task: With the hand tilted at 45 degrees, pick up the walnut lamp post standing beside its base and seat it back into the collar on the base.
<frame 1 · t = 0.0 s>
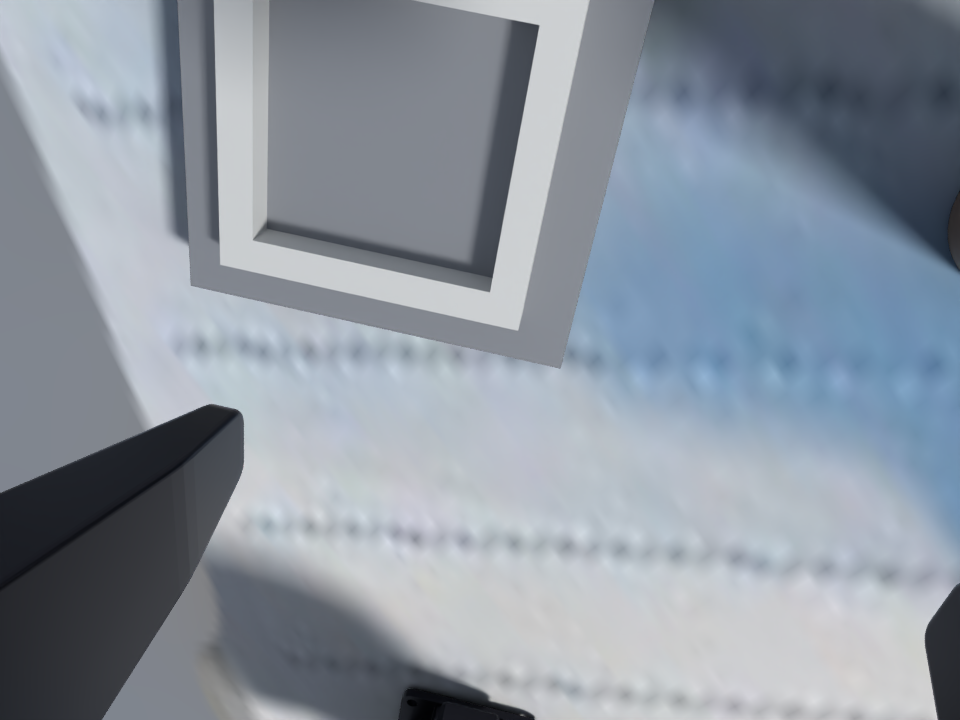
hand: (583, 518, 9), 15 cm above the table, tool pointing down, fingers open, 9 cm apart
base: (409, 119, 22), on the table
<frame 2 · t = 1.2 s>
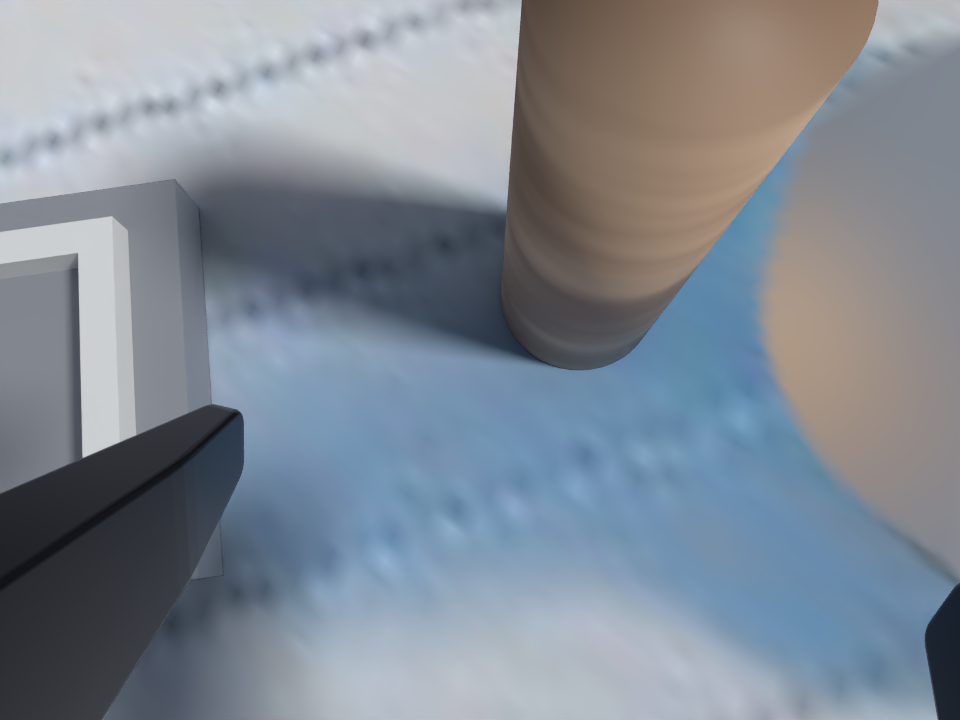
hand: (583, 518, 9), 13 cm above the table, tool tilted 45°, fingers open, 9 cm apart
base: (18, 408, 23), on the table
post: (577, 295, 24), on the table
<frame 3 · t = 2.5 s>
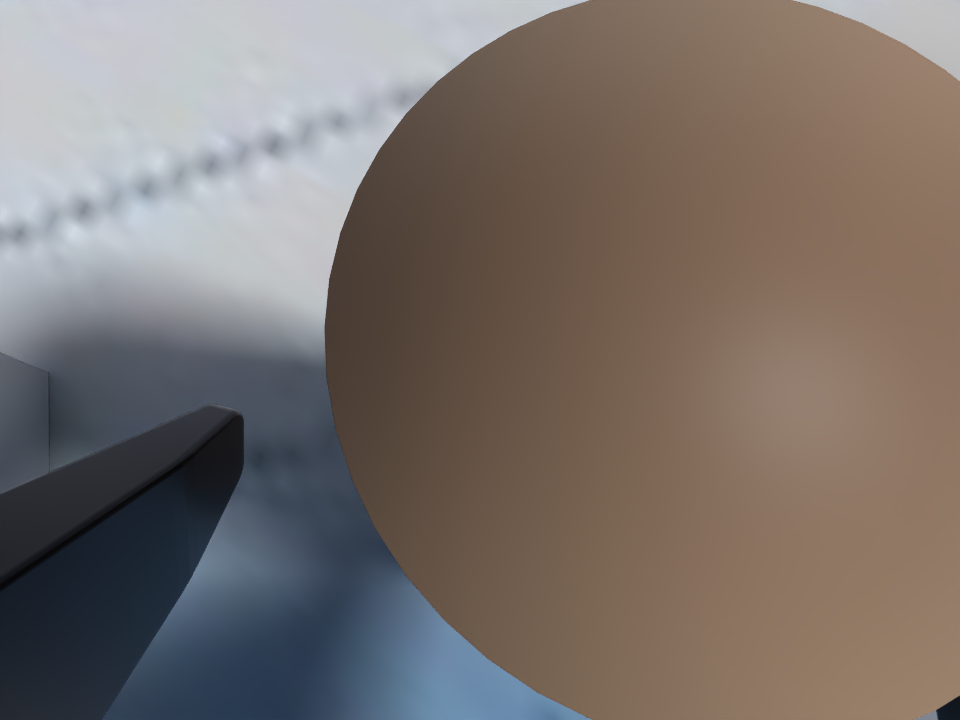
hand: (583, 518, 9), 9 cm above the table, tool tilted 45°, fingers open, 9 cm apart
post: (542, 494, 18), on the table
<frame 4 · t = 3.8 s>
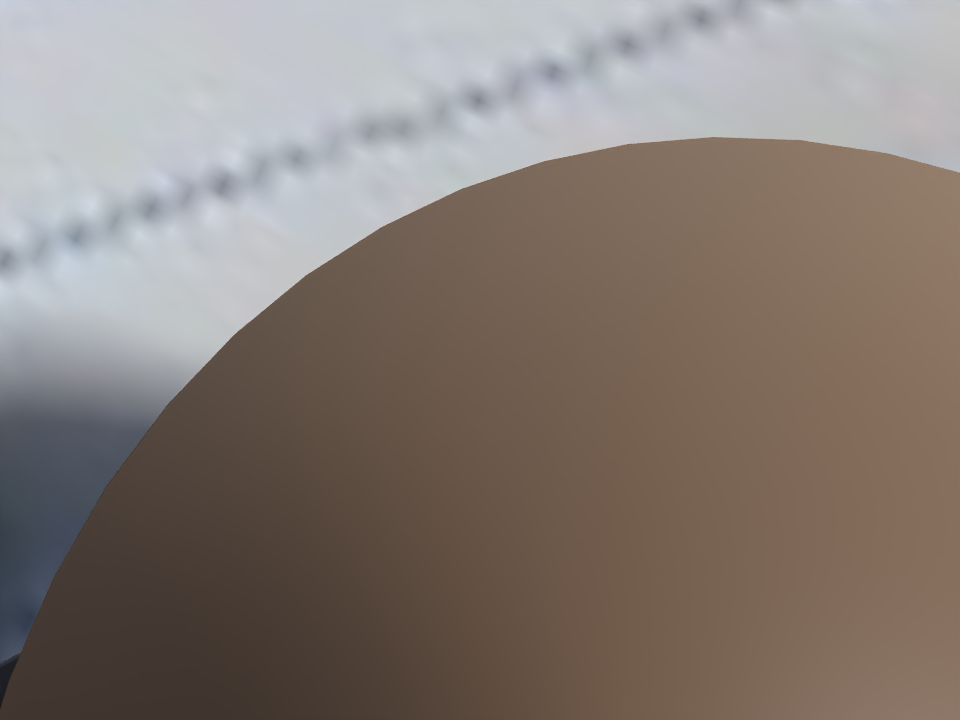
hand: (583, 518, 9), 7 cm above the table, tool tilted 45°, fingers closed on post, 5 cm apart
post: (526, 596, 16), on the table, touching gripper
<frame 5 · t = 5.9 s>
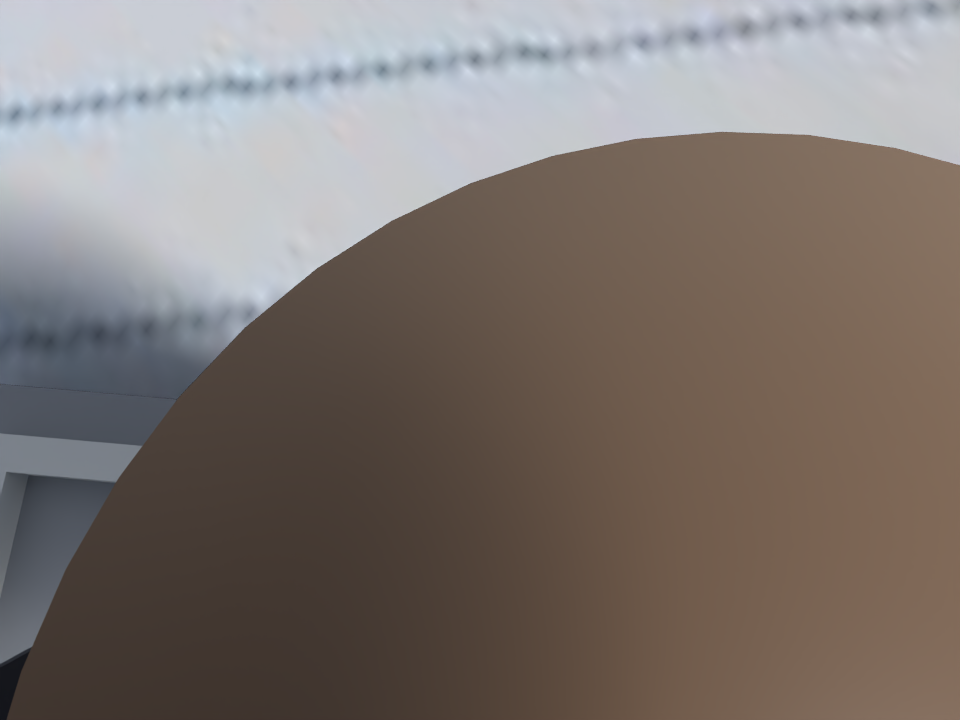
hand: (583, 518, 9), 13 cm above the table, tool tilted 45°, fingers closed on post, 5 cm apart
base: (158, 611, 22), on the table
post: (527, 594, 16), point 6 cm above the table, touching gripper
when the fingers open (10 cm above the table, at t = 7.9 s): post drops 1 cm, resting on base.
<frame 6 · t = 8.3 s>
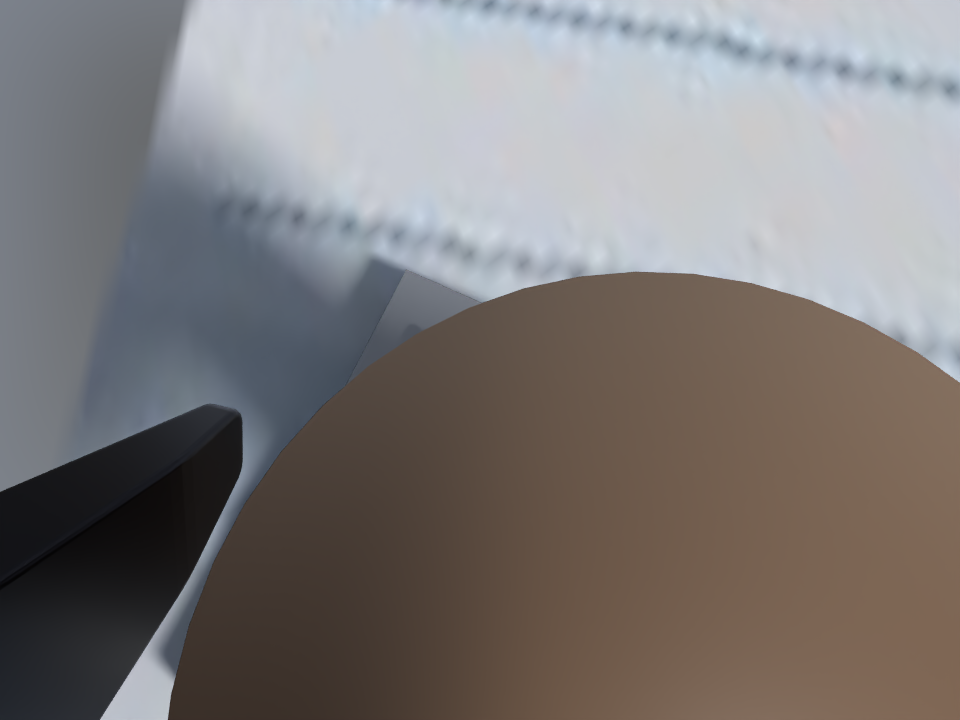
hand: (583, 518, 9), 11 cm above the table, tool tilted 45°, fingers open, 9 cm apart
base: (518, 587, 19), on the table
post: (522, 594, 17), point 2 cm above the table, touching base
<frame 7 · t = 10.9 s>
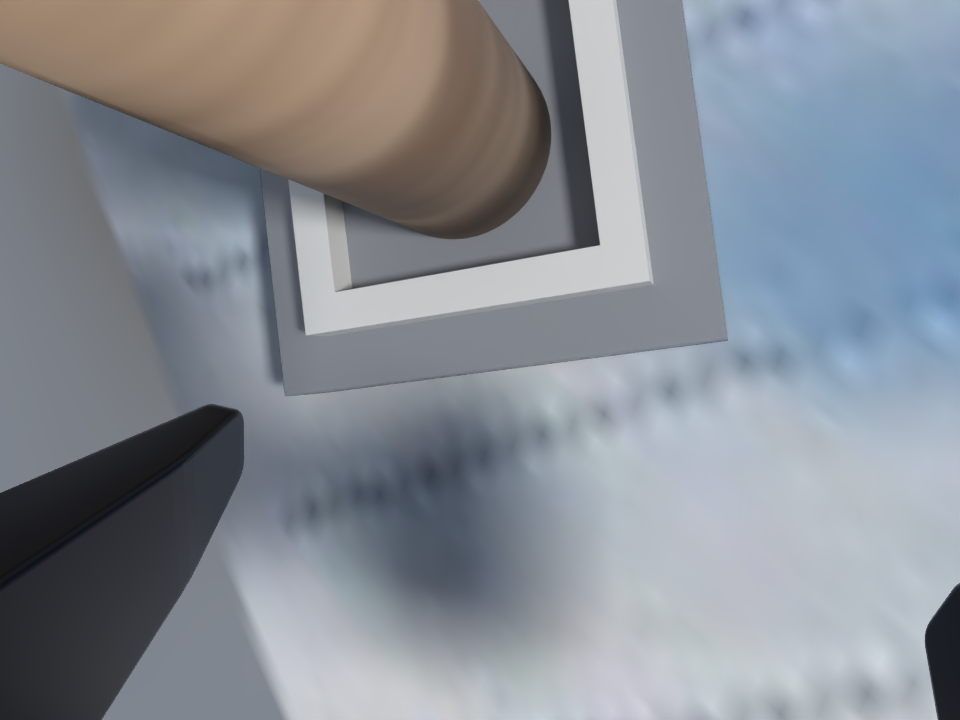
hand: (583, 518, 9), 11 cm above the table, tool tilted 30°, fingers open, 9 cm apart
base: (480, 161, 21), on the table
post: (457, 143, 19), point 2 cm above the table, touching base
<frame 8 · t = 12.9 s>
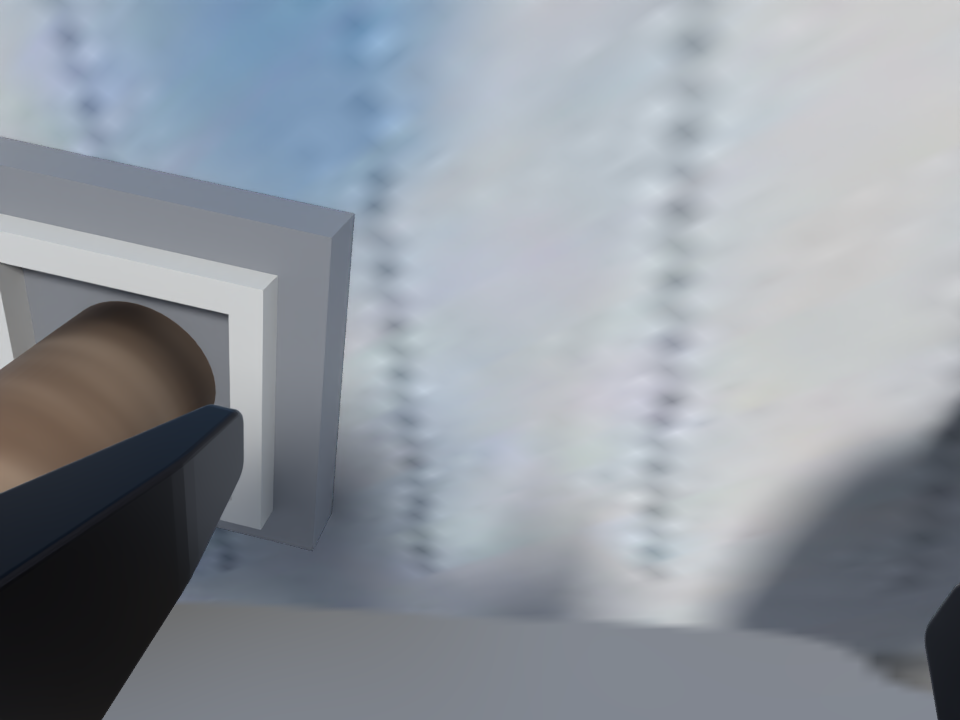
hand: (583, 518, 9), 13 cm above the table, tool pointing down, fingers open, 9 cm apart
base: (172, 342, 25), on the table
post: (140, 372, 23), point 2 cm above the table, touching base
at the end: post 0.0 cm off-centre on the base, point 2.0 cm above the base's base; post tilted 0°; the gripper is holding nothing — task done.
